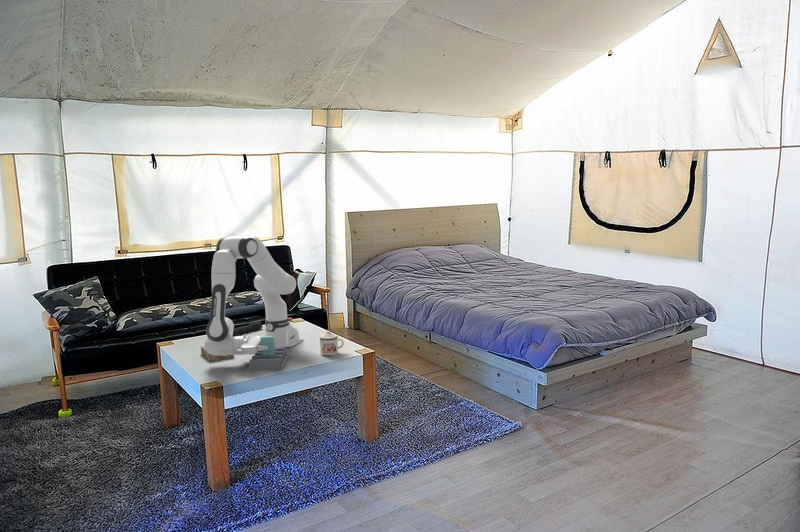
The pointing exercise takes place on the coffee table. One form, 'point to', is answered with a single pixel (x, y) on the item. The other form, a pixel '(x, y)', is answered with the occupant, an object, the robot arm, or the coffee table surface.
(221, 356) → the block
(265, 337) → the aqua rubber eraser
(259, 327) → the flashlight
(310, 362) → the coffee table surface
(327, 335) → the teacup with lid
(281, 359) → the slotted rack
